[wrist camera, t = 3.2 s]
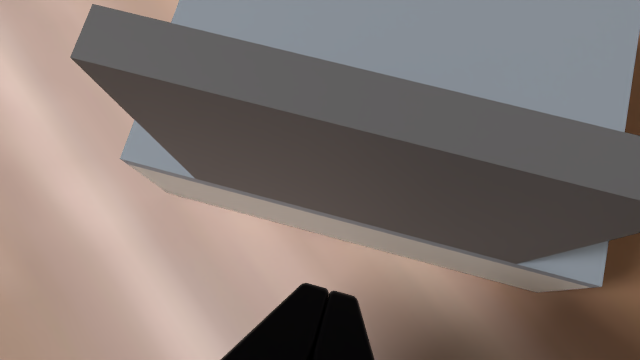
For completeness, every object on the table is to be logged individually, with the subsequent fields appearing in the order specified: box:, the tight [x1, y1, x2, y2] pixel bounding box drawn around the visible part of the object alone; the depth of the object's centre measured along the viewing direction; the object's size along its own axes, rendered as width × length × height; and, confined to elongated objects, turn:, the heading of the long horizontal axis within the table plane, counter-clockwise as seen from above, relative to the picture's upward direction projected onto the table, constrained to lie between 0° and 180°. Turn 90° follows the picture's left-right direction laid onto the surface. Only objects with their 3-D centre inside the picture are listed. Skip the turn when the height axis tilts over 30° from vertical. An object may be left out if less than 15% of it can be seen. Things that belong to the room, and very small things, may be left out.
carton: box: [128, 164, 591, 293], centre depth 16 cm, size 8×12×4 cm, turn 75°
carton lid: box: [70, 0, 640, 288], centre depth 11 cm, size 8×12×7 cm, turn 75°
